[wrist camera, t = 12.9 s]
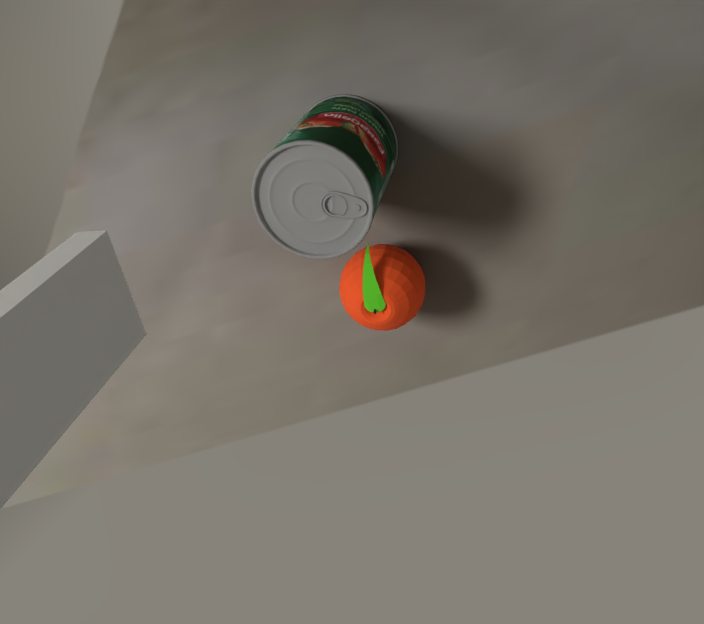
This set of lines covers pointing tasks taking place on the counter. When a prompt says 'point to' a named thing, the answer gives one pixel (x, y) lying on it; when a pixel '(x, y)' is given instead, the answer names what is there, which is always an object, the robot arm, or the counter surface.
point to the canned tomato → (326, 178)
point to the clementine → (382, 287)
